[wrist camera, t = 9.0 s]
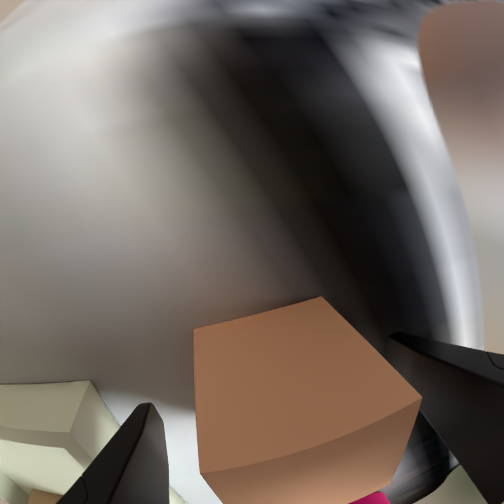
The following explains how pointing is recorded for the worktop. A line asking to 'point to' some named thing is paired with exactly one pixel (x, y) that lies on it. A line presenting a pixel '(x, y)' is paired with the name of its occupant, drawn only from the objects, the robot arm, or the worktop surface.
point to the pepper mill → (372, 499)
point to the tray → (51, 437)
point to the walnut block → (43, 497)
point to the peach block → (297, 408)
